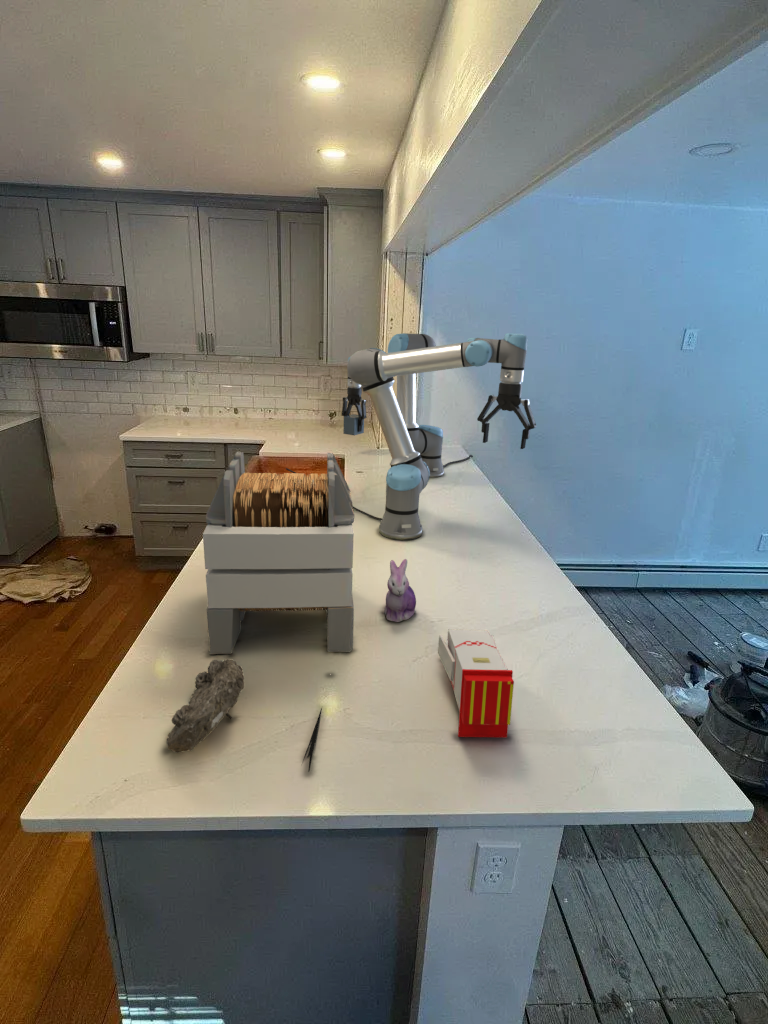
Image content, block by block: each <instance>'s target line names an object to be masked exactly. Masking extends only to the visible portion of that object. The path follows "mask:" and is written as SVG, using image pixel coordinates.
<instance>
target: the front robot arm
mask: <svg viewBox="0 0 768 1024" xmlns="http://www.w3.org/2000/svg"><path fill="white" fill-rule="evenodd" d="M528 340H529V339H528V336H527V335H526V334H523V333H505V334H504V337H503V339H502V338H501V339H497V338H495V339H493V338H482V337H469V338H468V339H467V340H466V341H464V342H456V343H450V344H443V345H436V346H435V347H427V348H420V349H413V350H406V351H399V352H392V353H388V352H386V351H384V350H383V349H380V348H377V347H369V348H366V349H360V350H357V351H355V352H353V353H352V355H351V356H349V357H350V359H349V361H348V360H347V365H346V367H347V369H346V370H347V375H348V374H349V376H350V378H351V379H352V380H353V381H354V382H355V383H357V384H359V385H361V386H362V387H361V388H362V392H363V393H364V394H366V395H368V396H369V399H370V401H371V404H372V406H373V409H374V412H375V415H376V418H377V420H378V423H379V426H380V429H381V432H382V434H383V437H384V439H385V442H386V445H387V449H388V451H389V453H390V457H391V460H390V462H389V465H390V467H389V468H388V470H387V471H386V472H387V473H386V476H385V483H386V484H385V504H384V505H385V507H384V508H385V509H384V513H383V515H382V517H378V516H375V515H372V514H370V513H368V512H365V511H363V510H361V509H359V508H357V507H355V506H353V510H355V511H357V512H359V513H361V514H363V515H366V516H368V517H370V518H372V519H375V520H377V521H381V522H379V525H378V533H379V534H380V535H381V536H382V537H385V538H387V539H389V540H395V541H410V540H415V539H418V538H420V537H421V536H422V535H423V525H422V524H421V518H420V515H419V507H420V506H419V505H420V504H419V503H420V496H421V495H420V494H421V493H422V491H423V490H424V489H425V488H426V487H427V485H428V484H429V481H430V478H429V476H430V473H429V468H428V466H427V465H426V463H425V462H423V461H422V458H421V455H420V453H419V452H417V451H415V450H414V448H413V445H412V442H411V439H410V436H409V434H408V431H407V428H406V425H405V422H404V419H403V417H402V414H401V411H400V408H399V405H398V402H397V396H396V395H395V391H394V389H393V386H394V383H395V379H394V377H393V376H395V377H397V376H400V375H408V374H416V375H417V374H421V373H422V374H423V373H430V372H436V371H437V372H438V371H446V370H453V369H460V368H461V369H462V368H469V367H470V368H471V367H483V366H485V365H487V364H488V363H491V364H500V365H501V366H500V374H499V381H500V382H499V383H498V391H497V393H498V394H497V396H496V395H495V394H490V395H488V398H487V402H486V403H485V405H484V407H483V408H482V409H481V412H480V413H479V415H478V417H477V422H480V423H481V431H480V432H481V433H483V436H482V443H484V444H486V443H488V442H489V434H490V433H489V432H490V423H489V421H491V419H492V418H493V417H494V416H495V415H496V414H498V412H499V411H501V410H502V411H508V412H514V414H515V415H516V417H517V418H518V420H519V421H520V423H521V425H522V426H523V427H524V429H522V432H521V439H520V440H521V441H520V447H519V449H520V450H523V449H525V448H526V444H527V440H529V439H530V435H531V430H533V429H536V428H537V423H536V419H535V416H534V414H533V410H532V408H531V399H530V398H526V399H522V392H523V391H522V390H523V382H524V375H525V374H524V373H525V366H526V365H525V364H526V360H527V359H526V358H527V350H528ZM495 402H496V403H497V405H496V406H495V407H494V408H493V409H492V410H491V411H490V413H488V411H489V410H490V408H491V407H492V405H493V404H494V403H495ZM521 404H522V406H523V408H524V411H525V415H526V416H525V415H524V413H523V412H522V409H521V407H520V405H521ZM487 413H488V414H487ZM486 415H487V416H486ZM285 470H286V471H288V472H290V473H297V472H295V471H293V470H292V469H290V468H288V467H285Z"/></svg>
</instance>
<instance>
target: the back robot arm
mask: <svg viewBox="0 0 768 1024" xmlns="http://www.w3.org/2000/svg"><path fill="white" fill-rule="evenodd" d="M435 346H437V344H436V342H435V340H434V339H433V337H432V336H430V335H429V334H426V333H408V332H407V333H406V332H403V333H396V334H394V335H393V336H391V338H390V340H389V342H388V345H387V353H392V352H399V351H406V350H413V349H420V348H427V347H435ZM350 357H351V356H349V357H348V358H347V362H348V361H349V359H350ZM394 377H396V400H397V402H398V405H399V408H400V411H401V414H402V417H403V419H404V422H405V425H406V428H407V431H408V434H409V436H410V439H411V442H412V445H413V448H414V450H415V451H417V452H419V453H420V455H421V458H422V461H423V462H425V463H426V465H427V466H428V468H429V473H430V476H429V479H430V478H432V479H433V478H440V477H442V476H444V475H445V468H446V467H447V466H449V465H453V464H457V463H462V462H465V461H467V460H469V459H470V458H474V456H473V454H470V455H469V456H467V457H464V458H462V459H459V460H458V459H457V460H453V461H449V462H447V463H445V464H444V465H443V461H442V452H443V441H444V430H443V429H442V428H441V427H438V426H434V425H428V424H418V423H417V421H416V419H417V418H416V417H417V415H416V413H417V411H416V409H417V408H416V406H417V404H416V401H417V399H416V397H417V394H416V393H417V384H416V383H417V373H416V374H408V375H400V376H393V378H394ZM362 392H363V389H362V386H361V385H359V384H357V383H355V382H354V381H353V380H352V379H351V378H350V376H349V374H348V373H347V390H346V394H347V395H346V396H343V397H342V407H341V408H342V409H341V417H342V416H343V417H344V416H348V415H351V411H352V408H353V406H354V407H355V408H356V413H357V415H358V416H359V419H358V432H361V431H362V425H363V419H364V420H365V419H367V405H366V404H367V399H365V398H364V399H363V398H362V394H363V393H362Z"/></svg>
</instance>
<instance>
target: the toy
mask: <svg viewBox="0 0 768 1024" xmlns="http://www.w3.org/2000/svg"><path fill="white" fill-rule="evenodd" d="M446 640H447V643H446V641H445V639H444V636H443V635H442V634H439V637H438V646H437V656H438V657H439V659H440V661H441V663H442V666H443V668H444V670H445V672H446V674H447V677H448V679H449V681H450V684H451V687H452V690H453V693H454V697H455V701H456V705H457V708H458V711H459V714H458V715H459V716H458V730H457V731H458V732H457V737H458V738H508V731H509V726H510V725H511V717H512V707H513V697H514V696H513V695H514V684H515V680H514V679H513V673H514V671H513V670H512V669H508V667H507V665H506V662H505V661H504V659H503V658H502V655H501V653H500V651H499V649H498V647H497V643H496V639H495V637H494V635H493V634H491V632H490V631H489V629H467V628H466V629H465V628H463V629H461V628H460V629H459V628H448V630H447V639H446Z"/></svg>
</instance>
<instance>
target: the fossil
mask: <svg viewBox="0 0 768 1024" xmlns="http://www.w3.org/2000/svg"><path fill="white" fill-rule="evenodd" d="M243 670H244V669H243V667H242V665H240V664H237V662H236V661H235V660H234V659H232V658H231V659H227V658H226V659H224V660H223V661H222V660H217V659H212V660H211V661H210V663H209V665H208V666H207V671H201V672H199V673H198V674H197V675H196V676H195V680H194V684H195V685H194V687H195V689H194V690H193V693H192V694H191V697H190V698H189V700H188V704H184V705H182V706H181V707H180V709H177V710H176V711H175V713H174V715H173V716H172V718H171V723H172V724H173V727H172V730H171V731H170V732H168V734H167V738H166V741H167V742H166V745H167V749H168V750H169V751H173V752H174V753H176V754H178V753H182V752H188V751H189V752H192V751H193V750H195V748H196V747H197V746H199V744H200V743H201V742H203V741H204V740H205V739H206V738H207V737H208V736H209V735H210V734H211V733H212V732H214V730H215V729H217V727H218V726H219V724H220V722H221V721H222V720H223V719H224V718H225V716H226V717H227V719H229V720H233V717H232V715H230V714H229V710H230V709H231V708H234V706H235V704H236V703H237V702H238V699H239V697H240V695H241V693H242V691H243V690H245V689H244V688H245V675H244V671H243Z"/></svg>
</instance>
